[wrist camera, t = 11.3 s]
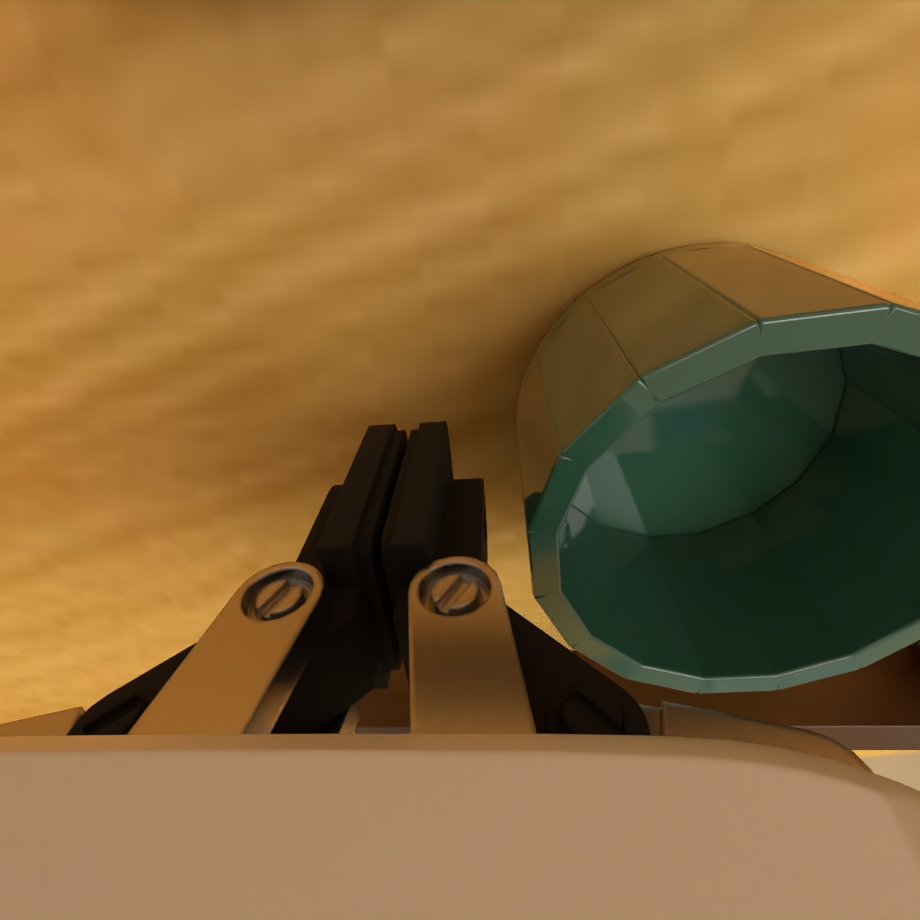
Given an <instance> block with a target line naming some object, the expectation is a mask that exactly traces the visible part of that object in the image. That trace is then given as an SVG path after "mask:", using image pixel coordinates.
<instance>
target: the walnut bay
mask: <svg viewBox="0 0 920 920" xmlns="http://www.w3.org/2000/svg"><path fill="white" fill-rule="evenodd" d="M573 653H574V654H576V655H577V656H578V657H580V658H581V659H583V660H584V661H585V662H587V663H588V664H590V665H591V666H592V667H594V668H595V669H597V670H598V671H599V672H601V673H602V674H604V675H605V676H607V677H608V678H609V679H611V680H612V681H614V682H615V683H616V684H618V685H619V686H621V687H622V688H623V689H624V690H625V691H626V692H628V693H629V694H630V695H631V696H632V697H633V698H634V699H635V700H636V701H637V703H638V704H642V705H647V706H652V707H657V708H661V703H662V701H666V702H671V703H676V704H681V705H686V706H691V707H696V708H701V709H706V710H711V711H716V712H721V713H726V714H731V715H736V716H741V717H746V718H751V719H756V720H761V721H766V722H771V723H776V724H781V725H786V726H791V727H796V728H801V729H806V730H810V731H813V732H816V733H819V734H822V735H825V736H828V737H831V738H833V739H834V740H836V741H837V742H839V743H840V744H842V745H843V746H845V747H847V748H848V749H850V750H920V640H919V642H918V643H917V645H916V647H915V648H914V647H905V648H903V649H901V650H899V651H897V652H895V653H893V654H891V655H888V656H886V657H884V658H882V659H880V660H878V661H876V662H874V663H872V664H870V665H868V666H866V667H863V668H861V667H860V669H859V670H855V671H851V672H847V673H843V674H840V675H836V676H832V677H828V678H824V679H820V680H816V681H812V682H808V683H805V684H801V685H797V686H793V687H789V688H785V689H781V690H778V689H776V690H774V691H754V692H729V693H703V694H700V693H698V692H697V693H691V692H686V691H681V690H677V689H672V688H667V687H662V686H657V685H652V684H648V683H643V682H638V681H633V680H629V679H627V678H623V677H622V676H620V675H618V674H616V673H615V672H613V671H611V670H609V669H608V668H606V667H604V666H602V665H601V664H599V663H597V662H595V661H594V660H592V659H590V658H588V657H587V656H585V655H583V654H581V653H580V652H573ZM360 702H361V711H360V715H359V719H358V722H357V725H356V727H355V730H354V733H355V734H411V724H410V689H409V686H408V682H407V677H406V673H405V668H404V664H403V659H402V664H401V668H400V670H391V674H390V680H389V685H388V689H373V690H371V691H370V692H369V693H368V694H366V695H365V696H364V697H363V698H361V699H360Z"/></svg>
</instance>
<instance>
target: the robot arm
mask: <svg viewBox="0 0 920 920" xmlns="http://www.w3.org/2000/svg"><path fill="white" fill-rule="evenodd" d="M402 659H403V664H404V668H405V673H406V677H407V682H408V686H409V689H410V724H411V734H353V733H354V730H355V727H356V725H357V722H358V719H359V715H360V711H361V702H360V699H361V698H363V697H364V696H365V695H366V694H368V693H369V692H370V691H371V690H373V689H388V685H389V680H390V674H391V670H400V668H401V664H402ZM0 920H920V791H918V790H915V789H913V788H911V787H908V786H906V785H904V784H902V783H899V782H897V781H894V780H891V779H888V778H886V777H883V776H880V775H877V774H874V773H873V771H872V770H871V769H870V768H869V767H868V766H867V765H866V764H865V763H864V762H863V761H862V760H861V759H860V758H859V757H858V756H857V755H856V754H855V753H854V752H853V751H851V750H850V749H848V748H847V747H845V746H843V745H842V744H840V743H839V742H837V741H836V740H834V739H833V738H831V737H828V736H825V735H822V734H819V733H816V732H813V731H810V730H806V729H801V728H796V727H791V726H786V725H781V724H776V723H771V722H766V721H761V720H756V719H751V718H746V717H741V716H736V715H731V714H726V713H721V712H716V711H711V710H706V709H701V708H696V707H691V706H686V705H681V704H676V703H671V702H666V701H662V703H661V708H657V707H652V706H647V705H642V704H638V703H637V701H636V700H635V699H634V698H633V697H632V696H631V695H630V694H629V693H628V692H626V691H625V690H624V689H623V688H622V687H621V686H619V685H618V684H616V683H615V682H614V681H612V680H611V679H609V678H608V677H607V676H605V675H604V674H602V673H601V672H599V671H598V670H597V669H595V668H594V667H592V666H591V665H590V664H588V663H587V662H585V661H584V660H583V659H581V658H580V657H578V656H577V655H576V654H574V653H573V652H571V651H570V650H569V649H567V648H566V647H564V646H563V645H562V644H560V643H559V642H557V641H556V640H555V639H553V638H552V637H550V636H549V635H548V634H546V633H545V632H543V631H542V630H541V629H539V628H538V627H536V626H535V625H534V624H532V623H531V622H529V621H528V620H527V619H525V618H524V617H522V616H521V615H520V614H518V613H517V612H515V611H514V610H513V609H511V608H510V607H508V606H507V605H506V603H505V599H504V594H503V590H502V586H501V582H500V580H499V577H498V575H497V573H496V571H494V570H493V569H492V568H491V567H490V566H489V565H488V564H487V520H486V505H485V492H484V481H483V478H476V479H456V480H454V479H453V470H452V461H451V452H450V443H449V435H448V427H447V423H446V421H444V422H427V423H420V426H419V430H411V432H410V436H409V439H408V440H407V435H406V432H405V430H401V431H398V430H397V427H396V425H395V424H392V425H374V426H369V427H368V429H367V431H366V433H365V436H364V438H363V440H362V442H361V445H360V447H359V449H358V452H357V454H356V456H355V458H354V461H353V463H352V465H351V468H350V470H349V472H348V474H347V477H346V479H345V481H344V484H343V485H335V486H332V488H331V489H330V490H329V492H328V495H327V497H326V499H325V501H324V503H323V505H322V507H321V510H320V512H319V514H318V516H317V518H316V520H315V522H314V524H313V527H312V529H311V531H310V533H309V535H308V537H307V539H306V542H305V544H304V546H303V548H302V550H301V552H300V554H299V556H298V559H297V561H296V562H285V563H281V564H277V565H273V566H270V567H268V568H266V569H264V570H261V571H259V572H258V573H256V574H255V575H253V576H252V577H250V578H249V579H247V580H246V581H245V582H244V583H243V584H242V586H241V587H240V588H239V589H238V590H237V591H236V592H235V594H234V595H233V596H232V598H231V599H230V600H229V601H228V603H227V604H226V605H225V607H224V608H223V609H222V611H221V612H220V613H219V615H218V616H217V617H216V619H215V620H214V621H213V622H212V624H211V625H210V626H209V628H208V629H207V630H206V632H205V633H204V634H203V636H202V637H201V638H200V639H199V641H198V642H197V643H195V644H193V645H192V646H190V647H188V648H186V649H185V650H183V651H181V652H180V653H178V654H176V655H175V656H173V657H171V658H169V659H168V660H166V661H164V662H163V663H161V664H159V665H158V666H156V667H154V668H152V669H151V670H149V671H147V672H146V673H144V674H142V675H141V676H139V677H137V678H135V679H134V680H132V681H130V682H129V683H127V684H125V685H124V686H122V687H120V688H118V689H117V690H115V691H113V692H112V693H110V694H108V695H107V696H105V697H104V698H103V699H101V700H100V701H98V702H97V703H95V704H94V705H93V706H91V707H90V708H89V709H88V710H87V711H85V710H84V709H83V707H77V708H72V709H68V710H63V711H59V712H54V713H50V714H45V715H40V716H36V717H31V718H27V719H22V720H18V721H13V722H8V723H4V724H0Z"/></svg>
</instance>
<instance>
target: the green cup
mask: <svg viewBox="0 0 920 920" xmlns="http://www.w3.org/2000/svg"><path fill="white" fill-rule="evenodd" d="M516 426H517V437H518V447H519V458H520V469H521V479H522V490H523V500H524V511H525V522H526V532H527V542H528V552H529V562H530V572H531V582H532V592H533V595H534V598H535V599H536V601H537V602H538V603H539V605H540V606H541V608H542V609H543V610H544V612H545V613H546V615H547V616H548V617H549V619H550V620H551V622H552V623H553V624H554V626H555V627H556V628H557V630H558V631H559V633H560V634H561V635H562V637H563V638H564V640H565V641H566V642H567V644H568V645H569V646H571V647H572V648H573V649H574V650H576V651H578V652H580V653H581V654H583V655H585V656H587V657H588V658H590V659H592V660H594V661H595V662H597V663H599V664H601V665H602V666H604V667H606V668H608V669H609V670H611V671H613V672H615V673H616V674H618V675H620V676H622V677H623V678H627V679H629V680H633V681H638V682H643V683H648V684H652V685H657V686H662V687H667V688H672V689H677V690H681V691H686V692H691V693H697V692H698V693H700V694H703V693H729V692H754V691H774V690H776V689H778V690H781V689H785V688H789V687H793V686H797V685H801V684H805V683H808V682H812V681H816V680H820V679H824V678H828V677H832V676H836V675H840V674H843V673H847V672H851V671H855V670H859V669H860V667H861V668H863V667H866V666H868V665H870V664H872V663H874V662H876V661H878V660H880V659H882V658H884V657H886V656H888V655H891V654H893V653H895V652H897V651H899V650H901V649H903V648H905V647H907V646H909V645H911V644H913V643H915V642H917V641H919V640H920V303H917V302H915V301H912V300H909V299H906V298H904V297H901V296H898V295H896V294H893V293H890V292H888V291H885V290H882V289H880V288H877V287H874V286H872V285H869V284H866V283H864V282H861V281H858V280H856V279H853V278H850V277H848V276H845V275H842V274H840V273H837V272H834V271H832V270H829V269H826V268H823V267H821V266H818V265H815V264H812V263H809V262H805V261H802V260H799V259H795V258H792V257H788V256H785V255H782V254H779V253H776V252H774V251H771V250H768V249H764V248H759V247H755V246H751V245H748V244H747V245H745V244H729V243H712V244H698V245H690V246H685V247H681V248H676V249H671V250H667V251H664V252H661V253H658V254H655V255H652V256H649V257H646V258H643V259H641V260H638V261H636V262H634V263H632V264H630V265H628V266H626V267H624V268H622V269H620V270H618V271H616V272H614V273H613V274H611V275H610V276H608V277H606V278H605V279H603V280H602V281H600V282H599V283H597V284H595V285H594V286H593V287H592V288H590V289H589V290H588V291H587V292H585V293H584V294H583V295H582V296H581V297H579V298H578V299H577V300H576V301H575V302H574V303H573V304H572V305H571V306H570V307H569V308H568V309H567V310H566V311H565V312H564V313H563V314H562V315H561V316H560V317H559V318H558V319H557V320H556V322H555V323H554V324H553V326H552V327H551V328H550V330H549V331H548V332H547V334H546V335H545V336H544V338H543V339H542V341H541V343H540V345H539V346H538V348H537V350H536V351H535V353H534V355H533V357H532V359H531V361H530V364H529V366H528V368H527V371H526V373H525V376H524V379H523V383H522V386H521V390H520V394H519V400H518V408H517V411H516Z"/></svg>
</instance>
